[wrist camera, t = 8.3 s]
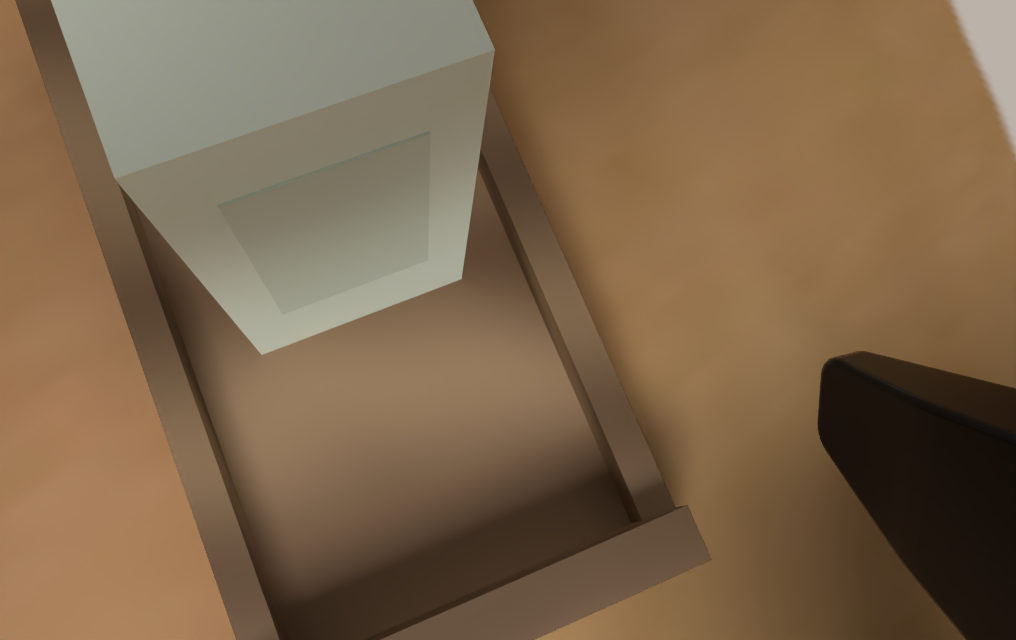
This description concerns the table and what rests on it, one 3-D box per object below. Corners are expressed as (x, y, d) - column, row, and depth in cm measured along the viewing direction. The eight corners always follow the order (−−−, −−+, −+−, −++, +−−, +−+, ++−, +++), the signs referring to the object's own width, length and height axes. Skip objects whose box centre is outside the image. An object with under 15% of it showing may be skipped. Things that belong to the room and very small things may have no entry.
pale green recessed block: (462, 280, 23) (496, 52, 12) (262, 357, 22) (115, 182, 12) (399, 132, 24) (381, -203, 13) (204, 200, 23) (16, -98, 12)
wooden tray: (674, 558, 23) (711, 559, 20) (287, 731, 21) (266, 760, 18) (398, -73, 26) (395, -151, 23) (45, 36, 24) (-6, -33, 22)
